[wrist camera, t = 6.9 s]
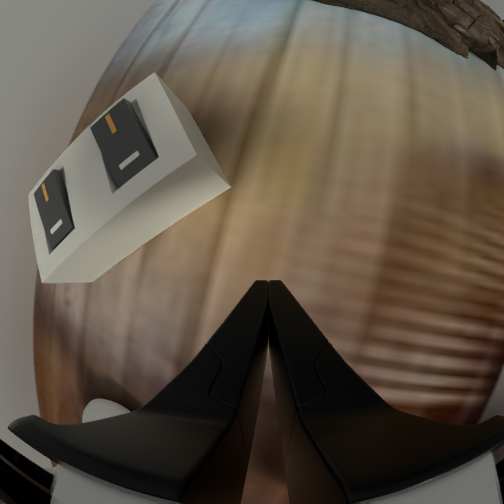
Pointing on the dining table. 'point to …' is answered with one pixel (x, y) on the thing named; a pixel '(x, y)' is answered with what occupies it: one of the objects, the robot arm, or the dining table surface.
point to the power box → (128, 189)
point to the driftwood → (444, 23)
